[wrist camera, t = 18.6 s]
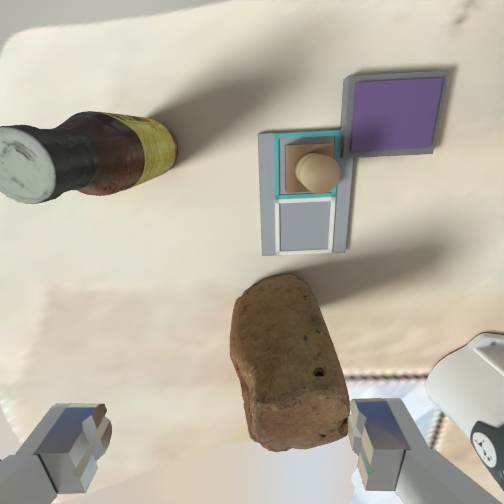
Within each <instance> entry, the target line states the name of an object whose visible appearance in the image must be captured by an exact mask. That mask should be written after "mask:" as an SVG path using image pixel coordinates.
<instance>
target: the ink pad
mask: <svg viewBox="0 0 504 504" xmlns="http://www.w3.org/2000/svg"><path fill="white" fill-rule="evenodd" d="M447 75H448V70H444V71H426V72H408V73H390V74H372V75H354V76H348V77H346V78H345V79H344V82H343V97H342V113H341V128H340V130H342V143H341V157H340V158H358V157H378V156H399V155H419V154H433V150H434V145H435V139H436V134H437V128H438V123H439V118H440V112H441V107H442V102H443V96H444V91H445V86H446V80H447Z"/></svg>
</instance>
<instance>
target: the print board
mask: <svg viewBox="0 0 504 504" xmlns="http://www.w3.org/2000/svg"><path fill="white" fill-rule="evenodd" d="M318 143H334V158H333V159H334V160H335V161H336V162H337V163H338V165H339V167H340V179H339V182H338V183H337V185H336V186H335V187H334V188H333V189H332V191H329V192H327V193H324V194H316V193H313V192H296V193H287V192H286V190H285V145H299V144H318ZM341 143H342V130H323V131H304V132H284V133H265V134H258V156H259V184H260V211H261V238H262V256H273V255H297V254H321V253H345V250H346V238H347V226H348V215H349V203H350V191H351V180H352V168H353V158H340V157H341Z"/></svg>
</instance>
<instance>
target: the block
mask: <svg viewBox="0 0 504 504" xmlns="http://www.w3.org/2000/svg"><path fill="white" fill-rule="evenodd" d="M230 357H231V360H232V362H233V365H234V367H235V370H236V373H237V375H238V377H239V379H240V384H241V388H242V397H243V400H244V409H245V414H246V421H247V424H248V431H249V435H250V438H251V439H252V440H253V441H255V442H258V443H260V444H261V445H262V447H264V448H267V449H268V450H269V451H274V452H280V451H287V450H289V449H291V448H295V449H309V448H313V447H316V446H320V445H324V444H328V443H331V442H334V441H337V440H339V439H341V438H343V437H345V436H347V434H348V417H349V416H350V415H349V413H350V401H349V395H348V391H347V387H346V383H345V379H344V375H343V372H342V369H341V366H340V363H339V360H338V357H337V354H336V351H335V349H334V346H333V343H332V340H331V337H330V335H329V332H328V329H327V326H326V324H325V321H324V319H323V316H322V313H321V311H320V308H319V306H318V303H317V301H316V299H315V297H314V295H313V293H312V291H311V289H310V288H309V286H308V285H307V283H305V282H303V281H301V280H299V279H298V277H297V276H295V275H291V274H285V275H279V276H274V277H270V278H267V279H265V280H263V281H261V282H260V283H259V284H257V285H253V286H252V287H250V288H248V289H247V290H246V291H245V292H244V293H243V295H242V296H241V297H239V298H238V299H237V300H236V302H235V305H234V309H233V315H232V323H231V332H230Z"/></svg>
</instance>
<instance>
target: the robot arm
mask: <svg viewBox="0 0 504 504" xmlns="http://www.w3.org/2000/svg"><path fill="white" fill-rule="evenodd" d="M425 389H426V394H427V396H428V398H429V400H430V401H431V402H432V403H433V404H435V405H436V406H437V407H438V408H439V409H440V410H441V411H442V412H443V413H444V414H446V415H447V417H448V418H449V419H450V420H451V421H452V422H453V423H454V424H455V425H456V426H457V427H458V428H459V429H460V430H461V432H462V433H463V434H464V435H465V436H466V437H467V438H468V440H469V441H470V442H471V443H472V445H473V447H474V449H475V451H476V452H477V454H478V456H479V457H480V459H481V460H482V462H483V464H484V465H485V466H486V468H487V469H488V470H489V472H490V473H491V475H492V476H493V477H494V479H495V480H496V481H497V483H498V484H499V485H500V487H501V488H502V489H503V491H504V335H499V334H491V333H482V334H480V335H478V336H476V337H475V338H474V339H473V340H472V341H470V342H469V343H468V344H467V345H466V346H465V347H463V348H461V349H459V350H457V351H455V352H453V353H451V354H449V355H448V356H446V357H445V358H443V359H442V360H441V361H440V362H439V363H438V364H437V365H436V366H435V367H434V368H433V369H432V371H431V372H430V374H429V376H428V378H427V381H426V386H425ZM350 410H351V413H352V414H351V415H350V416H349V417H348V434H349V439H350V443H351V447H352V450H353V451H354V452H355V453H356V454H357V455H358V456H359V459H358V465H357V466H358V469H359V472H360V475H361V478H362V481H363V484H364V487H365V490H368V491H395V494H396V495H397V496H398V497H399V498H400V500H401V501H402V502H403V503H404V504H502V503H501V502H500V501H498V500H497V499H496V498H495V497H493V496H492V495H491V494H490V493H488V492H487V491H486V490H485V489H483V488H482V487H481V486H480V485H478V484H477V483H476V482H475V481H473V480H472V479H471V478H470V477H468V476H467V475H466V474H465V473H464V472H462V471H461V470H460V469H459V468H457V467H456V466H455V465H454V464H452V463H451V462H450V461H449V460H447V459H446V458H445V457H444V456H442V455H441V454H440V453H439V452H437V451H436V450H430V448H429V446H428V445H427V443H426V441H425V439H424V438H423V436H422V434H421V433H420V431H419V429H418V427H417V426H416V424H415V422H414V420H413V419H412V417H411V415H410V413H409V412H408V410H407V408H406V406H405V405H404V403H403V401H402V400H401V399H400V398H384V399H382V398H371V399H352V400H351V401H350ZM106 412H107V410H106V407H105V404H86V403H57V404H55V405H54V406H52V407H51V408H50V409H49V411H48V412H47V413H46V415H45V416H44V417H43V419H42V420H41V421H40V422H39V424H38V425H37V426H36V428H35V429H34V430H33V432H32V433H31V434H30V436H29V437H28V438H27V439H26V441H25V442H24V443H23V445H22V446H21V447H20V449H19V450H18V451H17V452H16V454H15V455H9V456H8V457H6V458H5V459H4V460H2V461H1V462H0V504H50V503H51V502H52V501H53V500H54V499H55V498H56V497H57V494H74V493H86V492H87V489H88V487H89V485H90V483H91V481H92V479H93V477H94V475H95V473H96V471H97V469H98V467H97V460H98V459H99V458H100V457H101V456H102V455H103V454H105V452H106V450H107V448H108V445H109V443H110V439H111V434H112V425H111V422H110V420H109V419H108V418H106V417H105V414H106Z"/></svg>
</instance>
